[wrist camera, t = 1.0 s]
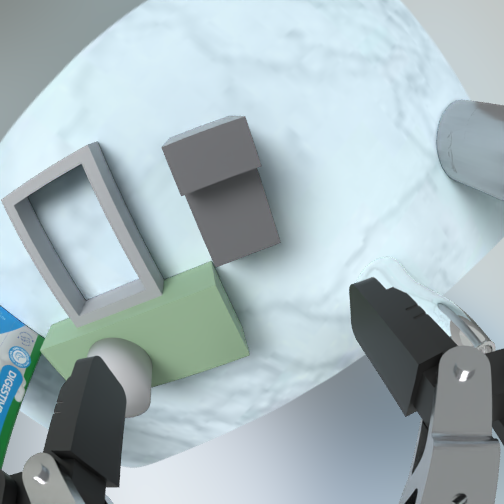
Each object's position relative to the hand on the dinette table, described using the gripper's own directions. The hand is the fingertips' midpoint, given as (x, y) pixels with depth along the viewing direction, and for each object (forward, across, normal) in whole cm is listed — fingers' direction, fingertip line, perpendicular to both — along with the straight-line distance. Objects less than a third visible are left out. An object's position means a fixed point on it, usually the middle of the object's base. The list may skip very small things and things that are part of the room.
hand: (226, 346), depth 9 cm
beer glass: (+18, -15, +14) cm, 27 cm away
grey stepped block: (+17, -2, -1) cm, 17 cm away
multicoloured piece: (+17, +10, +4) cm, 20 cm away
